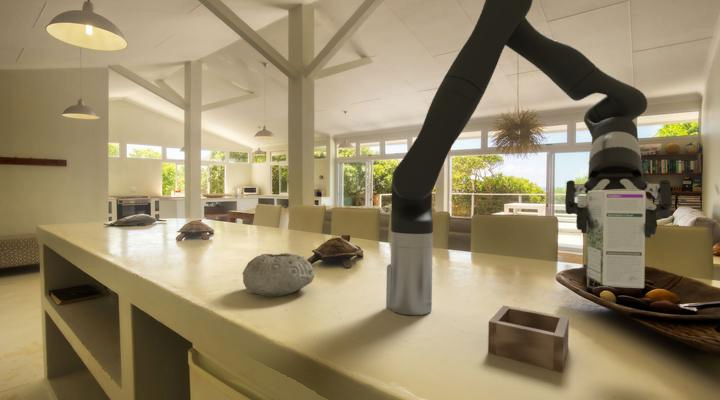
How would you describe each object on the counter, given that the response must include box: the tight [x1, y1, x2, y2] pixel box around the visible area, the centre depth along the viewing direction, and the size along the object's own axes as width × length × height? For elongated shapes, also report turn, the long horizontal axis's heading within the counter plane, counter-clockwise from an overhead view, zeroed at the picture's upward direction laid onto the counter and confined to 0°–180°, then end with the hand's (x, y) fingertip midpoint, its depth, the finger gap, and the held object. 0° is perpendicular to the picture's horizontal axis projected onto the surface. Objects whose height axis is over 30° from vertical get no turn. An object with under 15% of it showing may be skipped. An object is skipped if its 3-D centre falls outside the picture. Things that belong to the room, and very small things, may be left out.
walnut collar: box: [487, 305, 570, 373], centre depth 56 cm, size 10×10×5 cm
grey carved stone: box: [242, 252, 315, 297], centre depth 88 cm, size 18×18×10 cm
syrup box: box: [585, 189, 647, 289], centre depth 53 cm, size 6×6×14 cm
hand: (614, 231), depth 52 cm, fingers closed on syrup box, 7 cm apart
